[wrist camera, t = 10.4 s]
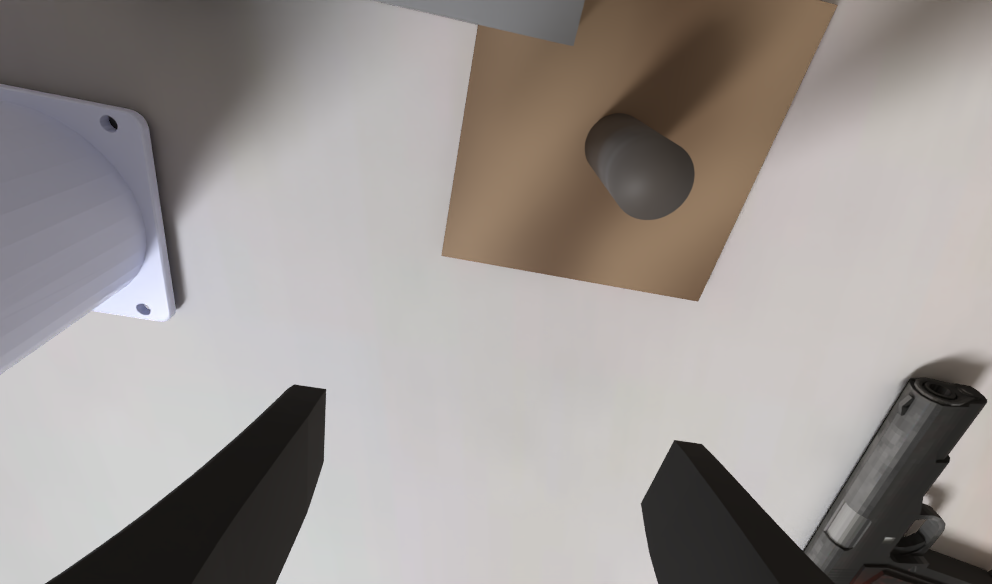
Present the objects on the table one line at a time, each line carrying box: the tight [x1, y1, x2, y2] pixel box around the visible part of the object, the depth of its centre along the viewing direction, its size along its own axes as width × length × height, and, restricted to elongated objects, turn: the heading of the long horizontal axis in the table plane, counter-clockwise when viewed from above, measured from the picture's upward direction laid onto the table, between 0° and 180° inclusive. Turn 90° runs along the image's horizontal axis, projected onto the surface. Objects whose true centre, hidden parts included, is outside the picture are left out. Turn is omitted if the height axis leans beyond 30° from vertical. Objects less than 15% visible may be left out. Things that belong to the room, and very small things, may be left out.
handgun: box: [804, 378, 992, 584], centre depth 25 cm, size 2×18×12 cm
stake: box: [442, 0, 837, 301], centre depth 14 cm, size 10×10×5 cm
